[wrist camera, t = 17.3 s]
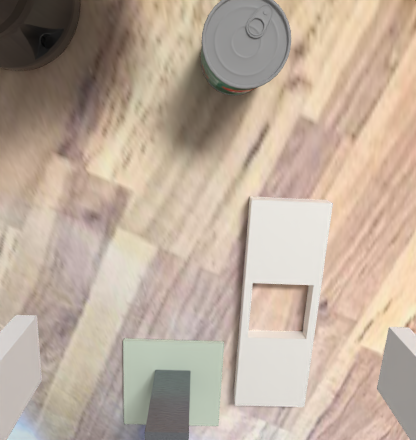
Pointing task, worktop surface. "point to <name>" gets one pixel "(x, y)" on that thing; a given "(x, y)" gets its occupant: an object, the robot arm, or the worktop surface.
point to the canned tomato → (244, 45)
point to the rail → (280, 274)
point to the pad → (173, 360)
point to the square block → (169, 406)
